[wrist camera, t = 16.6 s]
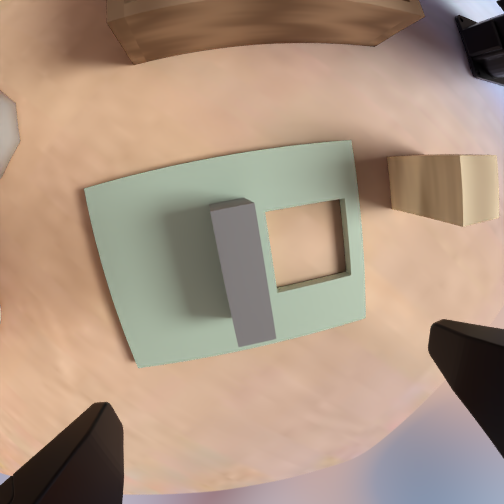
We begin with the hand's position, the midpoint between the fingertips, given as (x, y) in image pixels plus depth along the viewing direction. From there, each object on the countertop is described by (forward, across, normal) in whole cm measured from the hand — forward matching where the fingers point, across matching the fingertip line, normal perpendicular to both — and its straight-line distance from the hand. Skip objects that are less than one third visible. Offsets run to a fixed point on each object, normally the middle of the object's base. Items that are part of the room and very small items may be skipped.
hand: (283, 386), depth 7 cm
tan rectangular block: (+12, -13, -3) cm, 18 cm away
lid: (+12, 0, 0) cm, 12 cm away
